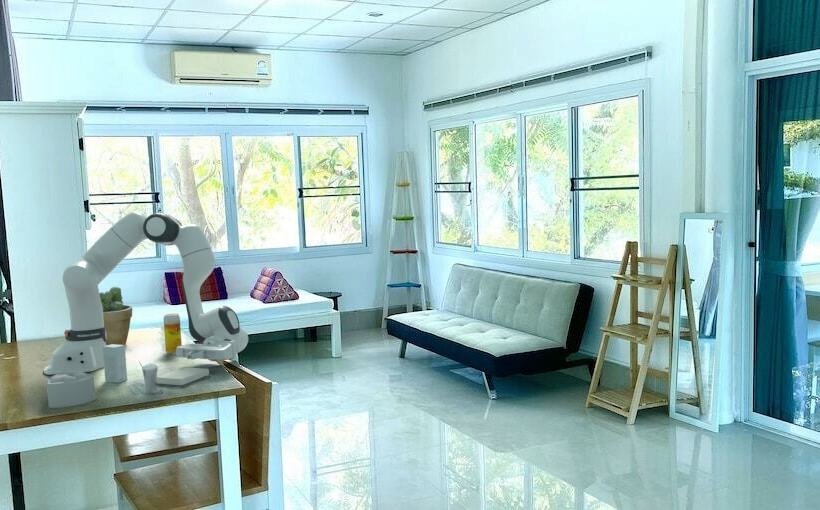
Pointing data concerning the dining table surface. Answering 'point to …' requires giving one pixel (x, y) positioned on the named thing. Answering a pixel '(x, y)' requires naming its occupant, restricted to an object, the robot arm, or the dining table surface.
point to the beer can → (172, 332)
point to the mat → (184, 384)
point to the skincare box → (114, 363)
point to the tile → (182, 376)
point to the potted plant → (115, 316)
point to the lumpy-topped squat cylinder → (70, 389)
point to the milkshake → (150, 377)
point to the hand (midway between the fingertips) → (189, 356)
